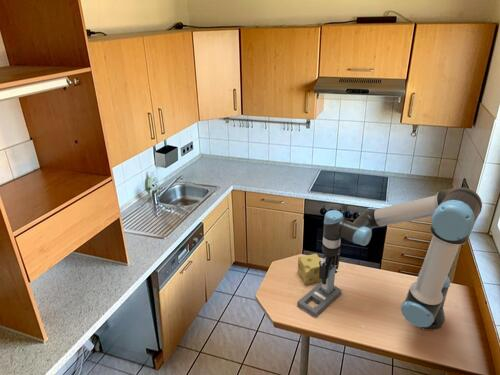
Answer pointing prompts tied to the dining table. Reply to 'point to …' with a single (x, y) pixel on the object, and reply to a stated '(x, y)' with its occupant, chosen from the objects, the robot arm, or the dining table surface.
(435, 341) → the dining table surface
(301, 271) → the cheese
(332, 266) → the plug
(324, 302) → the port panel
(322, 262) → the robot arm
